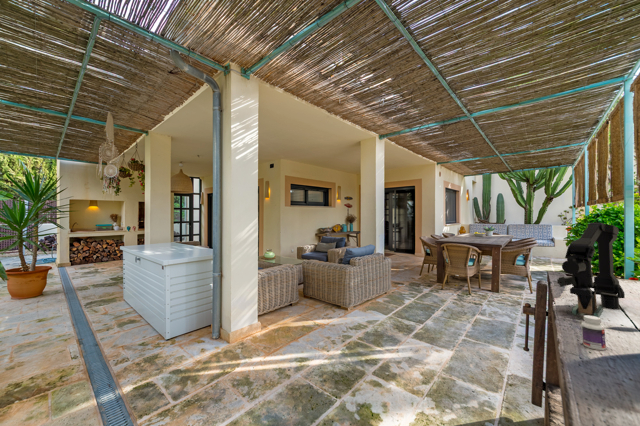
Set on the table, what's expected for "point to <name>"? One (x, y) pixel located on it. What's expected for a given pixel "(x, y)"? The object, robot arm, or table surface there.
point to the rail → (596, 314)
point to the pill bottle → (593, 333)
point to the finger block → (585, 311)
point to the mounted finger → (594, 303)
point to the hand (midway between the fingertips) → (585, 308)
